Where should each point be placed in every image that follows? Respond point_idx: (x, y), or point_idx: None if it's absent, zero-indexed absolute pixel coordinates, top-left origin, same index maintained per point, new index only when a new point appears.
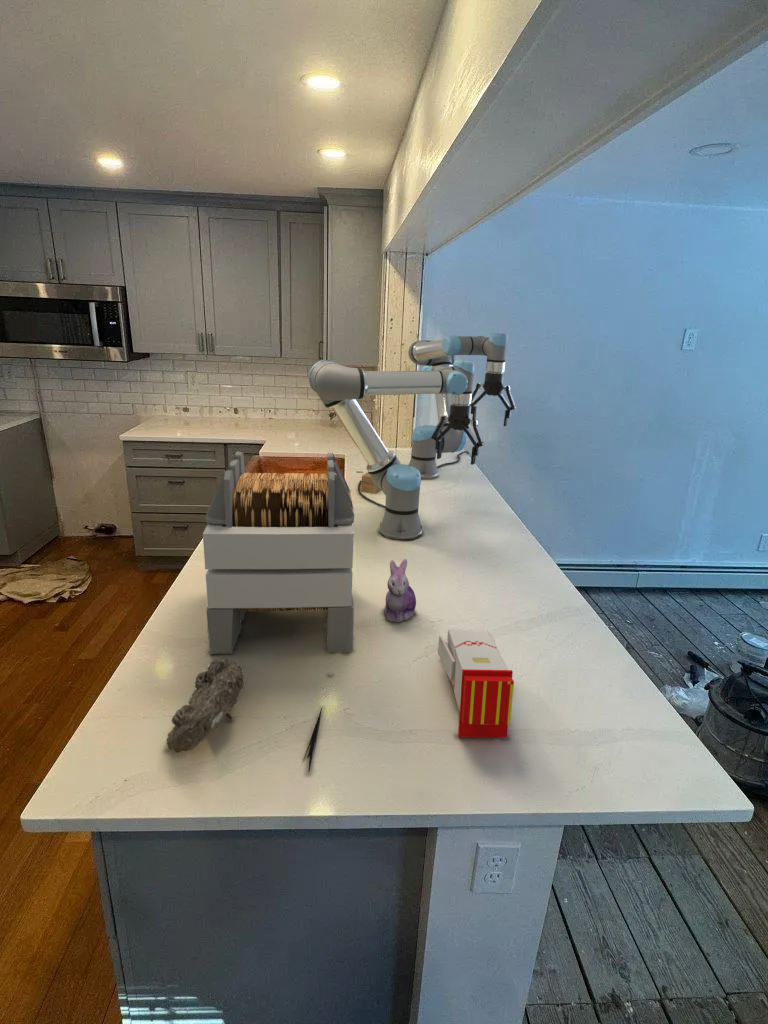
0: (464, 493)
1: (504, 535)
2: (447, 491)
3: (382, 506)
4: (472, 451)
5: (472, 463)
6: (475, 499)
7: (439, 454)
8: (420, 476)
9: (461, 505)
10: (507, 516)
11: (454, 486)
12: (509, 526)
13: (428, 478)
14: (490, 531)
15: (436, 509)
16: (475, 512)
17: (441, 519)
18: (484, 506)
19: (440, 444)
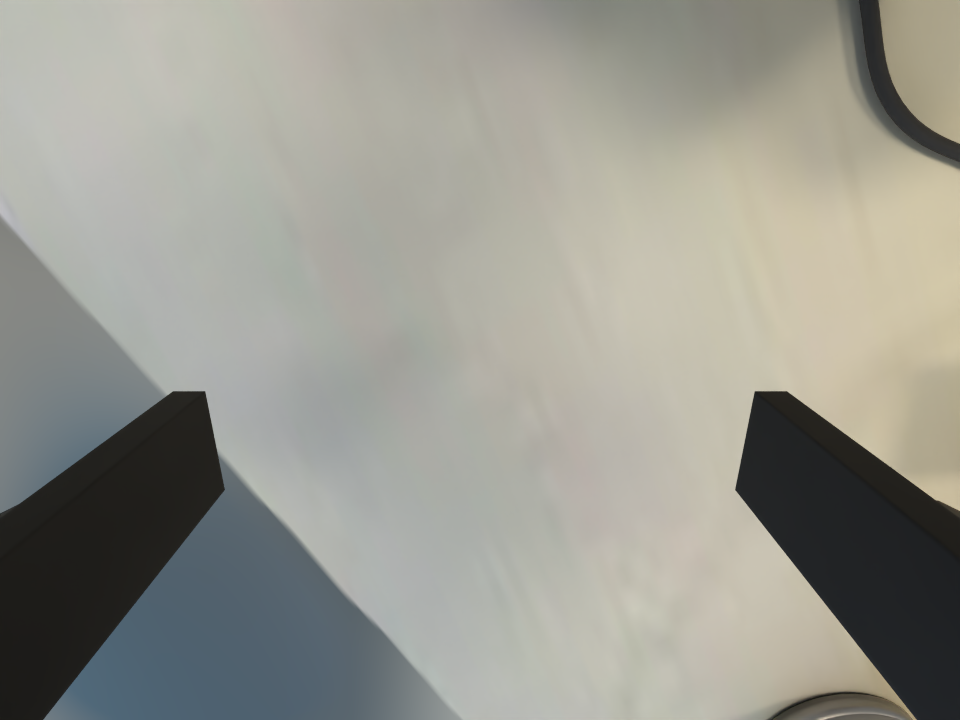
0: (543, 626)
1: (58, 115)
2: (633, 610)
3: (937, 135)
4: (19, 527)
5: (165, 401)
6: (459, 577)
7: (789, 449)
8: (833, 710)
9: (488, 456)
10: None
11: (625, 689)
12: (118, 287)
13: (784, 717)
14: (157, 133)
15: (591, 315)
16: (376, 395)
17: (500, 158)
18: (376, 507)
19: (937, 602)
